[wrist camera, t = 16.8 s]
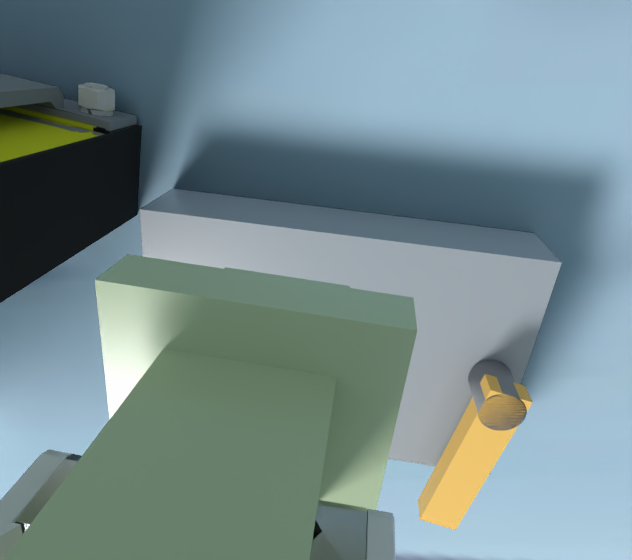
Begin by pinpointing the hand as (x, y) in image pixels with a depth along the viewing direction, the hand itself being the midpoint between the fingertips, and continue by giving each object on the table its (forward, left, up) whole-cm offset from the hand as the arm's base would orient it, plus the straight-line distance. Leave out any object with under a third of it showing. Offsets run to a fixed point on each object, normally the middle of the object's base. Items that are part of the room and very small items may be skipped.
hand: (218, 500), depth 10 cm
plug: (0, 0, -7) cm, 7 cm away
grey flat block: (+1, -9, -24) cm, 25 cm away
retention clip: (+11, -13, -19) cm, 25 cm away
